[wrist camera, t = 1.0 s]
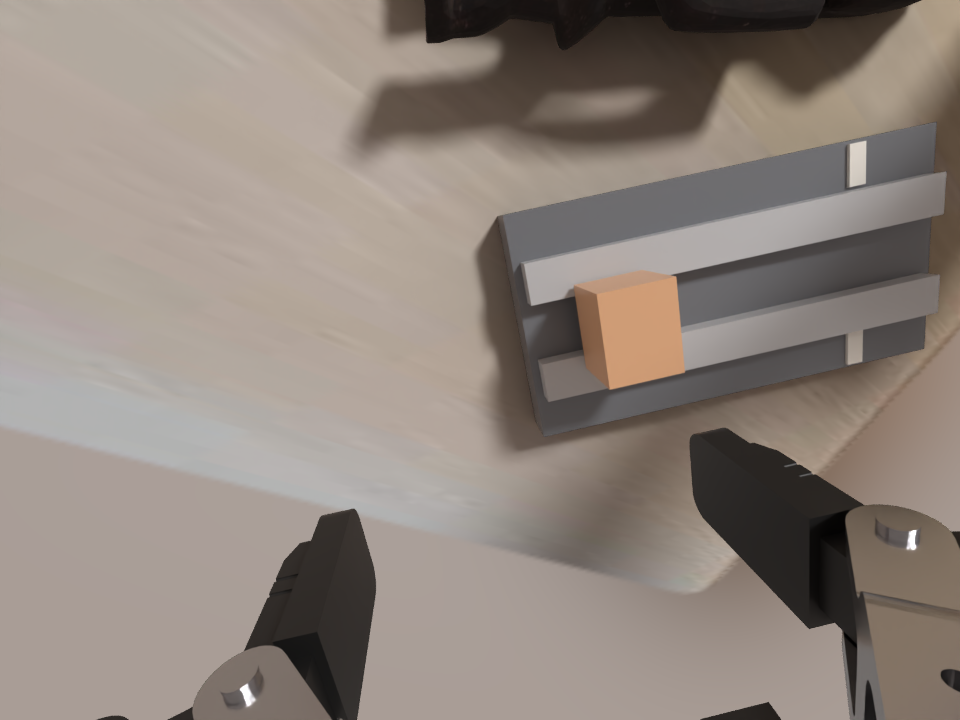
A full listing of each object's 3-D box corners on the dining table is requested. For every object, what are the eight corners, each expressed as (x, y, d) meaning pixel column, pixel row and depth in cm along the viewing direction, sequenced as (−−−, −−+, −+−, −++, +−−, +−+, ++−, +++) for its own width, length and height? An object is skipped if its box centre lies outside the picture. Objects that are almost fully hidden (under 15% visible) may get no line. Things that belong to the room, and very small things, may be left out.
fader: (633, 268, 28) (676, 276, 23) (642, 348, 30) (685, 372, 25) (567, 282, 28) (596, 294, 23) (580, 362, 30) (609, 389, 25)
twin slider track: (896, 130, 30) (958, 116, 27) (889, 340, 34) (942, 353, 31) (497, 216, 30) (505, 214, 26) (536, 422, 33) (548, 445, 30)
